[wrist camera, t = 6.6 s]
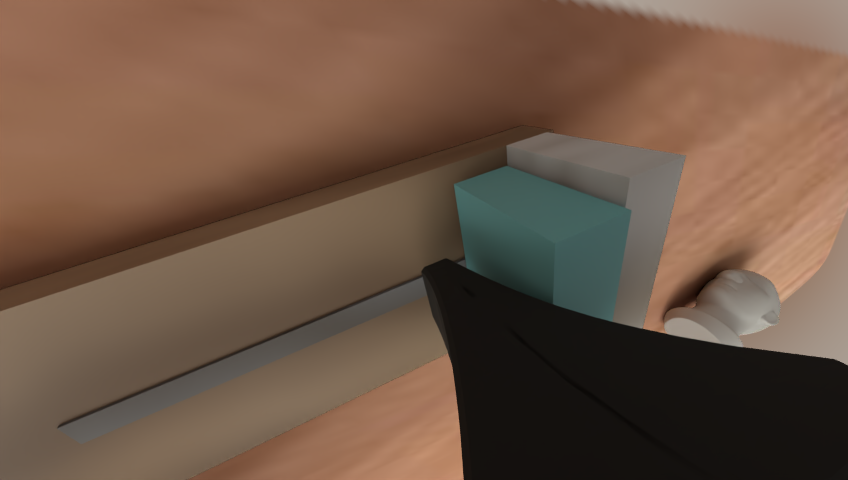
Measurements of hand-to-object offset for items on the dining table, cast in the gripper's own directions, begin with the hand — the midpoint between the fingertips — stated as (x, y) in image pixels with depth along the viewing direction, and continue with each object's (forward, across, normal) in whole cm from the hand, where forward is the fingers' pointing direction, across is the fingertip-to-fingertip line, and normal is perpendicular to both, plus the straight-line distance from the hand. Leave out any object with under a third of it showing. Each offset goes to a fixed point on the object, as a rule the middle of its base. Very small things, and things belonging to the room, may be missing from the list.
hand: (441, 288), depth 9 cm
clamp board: (+3, +4, 0) cm, 5 cm away
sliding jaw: (+1, -2, +1) cm, 2 cm away
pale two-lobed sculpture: (+3, -20, +13) cm, 24 cm away
